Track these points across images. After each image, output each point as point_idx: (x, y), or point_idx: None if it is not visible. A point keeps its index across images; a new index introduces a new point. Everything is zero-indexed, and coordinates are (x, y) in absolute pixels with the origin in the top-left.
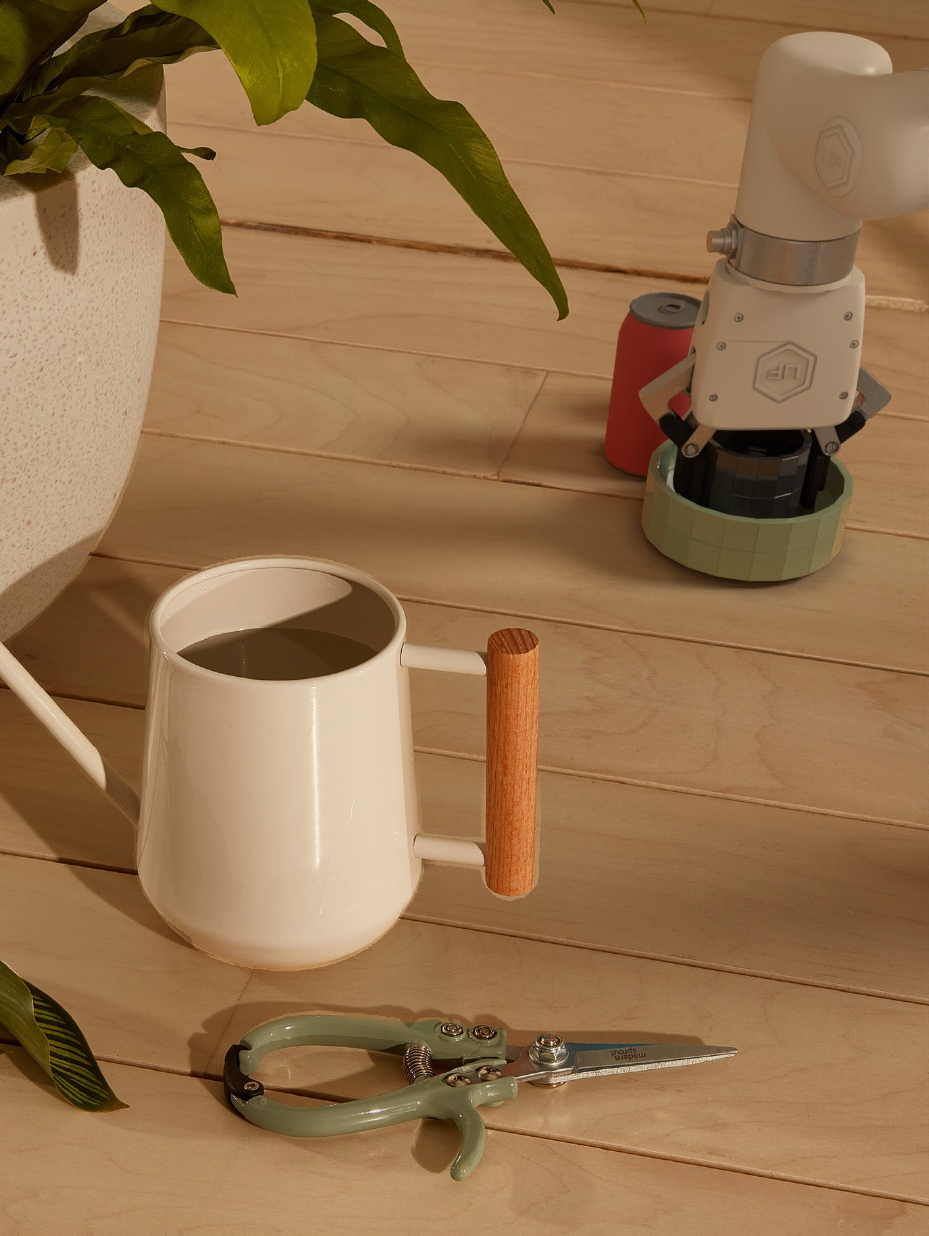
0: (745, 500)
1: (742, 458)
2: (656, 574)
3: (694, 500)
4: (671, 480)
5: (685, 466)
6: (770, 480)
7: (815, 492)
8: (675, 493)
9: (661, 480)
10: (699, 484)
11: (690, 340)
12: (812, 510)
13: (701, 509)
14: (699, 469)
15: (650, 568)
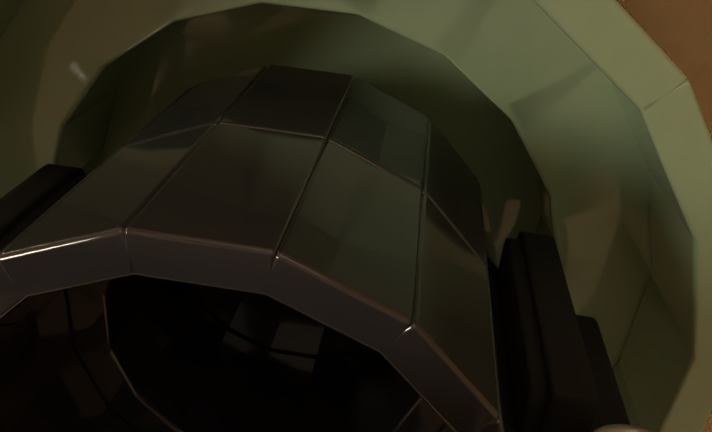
0: (359, 145)
1: (387, 302)
2: (701, 20)
3: (540, 254)
4: None
5: (602, 402)
6: (222, 166)
7: (16, 193)
8: (705, 248)
9: (703, 362)
10: (538, 299)
11: None
12: None
13: (657, 71)
14: (565, 355)
15: (701, 63)
